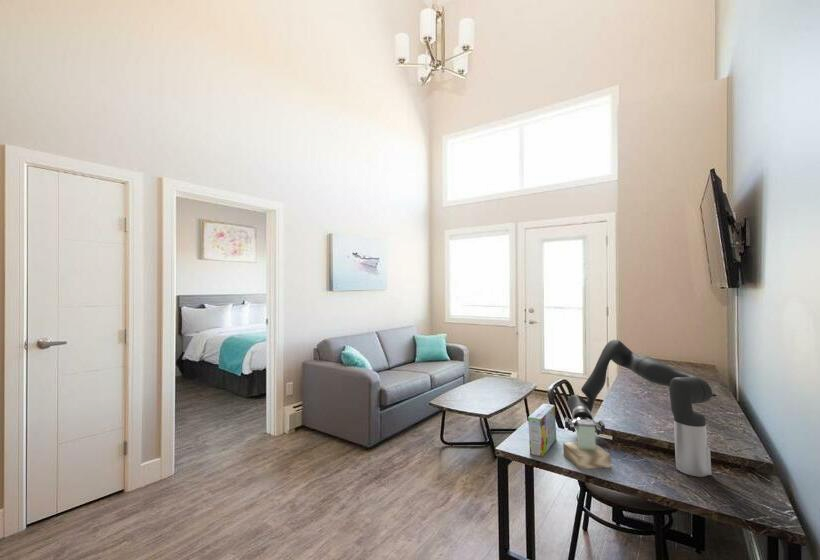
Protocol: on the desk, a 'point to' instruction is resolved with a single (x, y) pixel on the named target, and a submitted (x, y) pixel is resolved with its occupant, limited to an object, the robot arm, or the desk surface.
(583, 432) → the tea tin
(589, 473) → the desk surface
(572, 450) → the birch block
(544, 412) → the snack box
